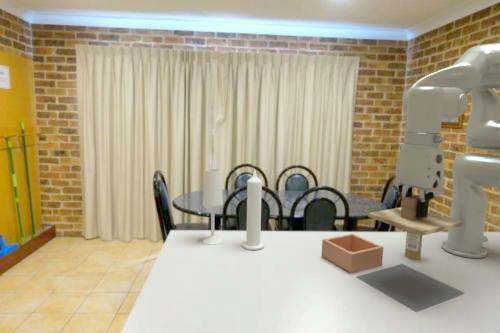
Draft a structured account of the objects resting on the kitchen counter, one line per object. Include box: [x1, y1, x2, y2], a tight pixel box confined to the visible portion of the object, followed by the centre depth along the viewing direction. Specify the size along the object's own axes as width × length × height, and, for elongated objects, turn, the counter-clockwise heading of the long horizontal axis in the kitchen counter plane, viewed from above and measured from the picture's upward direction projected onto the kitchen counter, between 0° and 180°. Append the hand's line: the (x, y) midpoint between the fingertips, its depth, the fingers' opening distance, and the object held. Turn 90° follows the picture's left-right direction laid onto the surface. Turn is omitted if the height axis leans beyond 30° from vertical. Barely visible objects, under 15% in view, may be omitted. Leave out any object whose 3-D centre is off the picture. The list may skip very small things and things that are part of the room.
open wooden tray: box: [320, 233, 384, 274], centre depth 101 cm, size 12×12×6 cm
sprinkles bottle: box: [403, 231, 423, 261], centre depth 104 cm, size 5×5×13 cm
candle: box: [241, 169, 265, 252], centre depth 110 cm, size 7×7×25 cm
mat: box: [356, 263, 466, 313], centre depth 88 cm, size 18×18×1 cm
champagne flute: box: [202, 168, 224, 246], centre depth 114 cm, size 7×7×24 cm
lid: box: [367, 194, 463, 237], centre depth 85 cm, size 15×15×6 cm
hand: (414, 214), depth 85 cm, fingers closed on lid, 3 cm apart
